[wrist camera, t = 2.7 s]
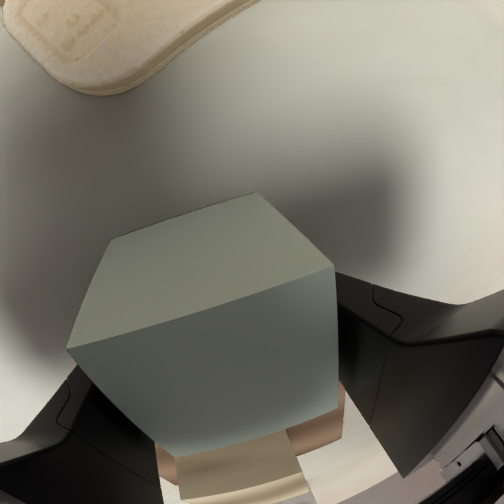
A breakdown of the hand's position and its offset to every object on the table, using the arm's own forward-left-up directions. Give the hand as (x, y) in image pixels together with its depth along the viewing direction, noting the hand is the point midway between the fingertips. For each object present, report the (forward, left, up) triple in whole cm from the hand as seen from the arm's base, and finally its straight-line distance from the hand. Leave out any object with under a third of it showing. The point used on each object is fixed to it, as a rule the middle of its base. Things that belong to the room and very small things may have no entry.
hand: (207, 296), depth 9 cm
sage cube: (0, 0, -1) cm, 1 cm away
